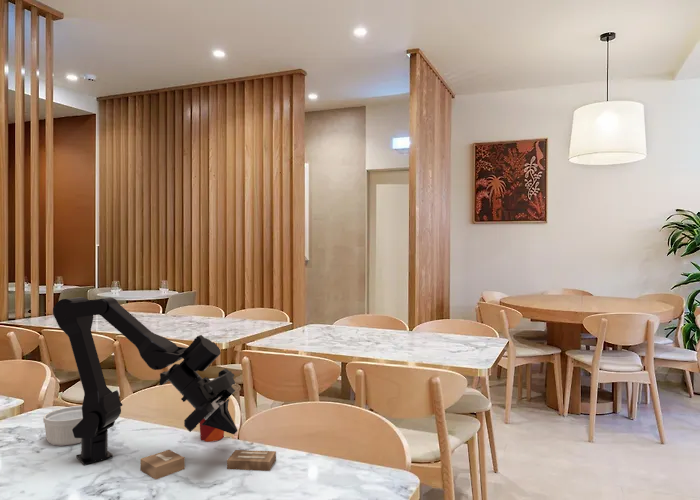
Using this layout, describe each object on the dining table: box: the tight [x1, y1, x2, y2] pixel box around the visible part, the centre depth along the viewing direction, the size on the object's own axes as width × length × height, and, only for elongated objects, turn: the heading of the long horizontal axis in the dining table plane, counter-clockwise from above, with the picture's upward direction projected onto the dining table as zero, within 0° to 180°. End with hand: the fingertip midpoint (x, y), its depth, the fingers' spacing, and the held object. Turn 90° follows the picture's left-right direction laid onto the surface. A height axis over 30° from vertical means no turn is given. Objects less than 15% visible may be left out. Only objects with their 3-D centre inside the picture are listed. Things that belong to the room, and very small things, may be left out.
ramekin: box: [42, 405, 83, 446], centre depth 133 cm, size 13×13×7 cm
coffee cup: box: [199, 378, 225, 443], centre depth 133 cm, size 8×8×15 cm
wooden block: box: [226, 449, 277, 472], centre depth 116 cm, size 3×6×10 cm
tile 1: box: [139, 449, 186, 480], centre depth 113 cm, size 7×7×3 cm
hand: (235, 432), depth 117 cm, fingers closed
